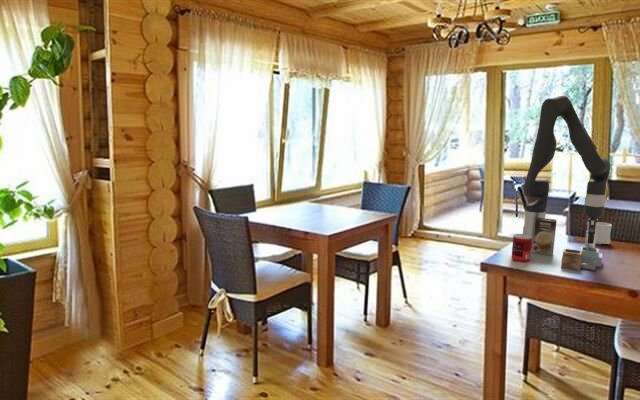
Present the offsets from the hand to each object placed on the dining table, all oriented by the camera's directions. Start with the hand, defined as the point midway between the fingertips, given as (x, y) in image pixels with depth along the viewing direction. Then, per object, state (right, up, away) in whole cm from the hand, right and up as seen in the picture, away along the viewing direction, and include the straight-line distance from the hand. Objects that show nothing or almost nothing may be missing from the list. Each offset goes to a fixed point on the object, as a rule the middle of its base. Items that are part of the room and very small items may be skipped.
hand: (590, 241), depth 213 cm
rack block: (0, -10, +1) cm, 10 cm away
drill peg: (0, -6, +1) cm, 6 cm away
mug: (+25, -4, +39) cm, 47 cm away
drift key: (-8, -11, -6) cm, 14 cm away
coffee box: (-13, -7, +17) cm, 23 cm away
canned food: (-28, -9, +5) cm, 30 cm away
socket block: (-11, -10, -4) cm, 15 cm away
